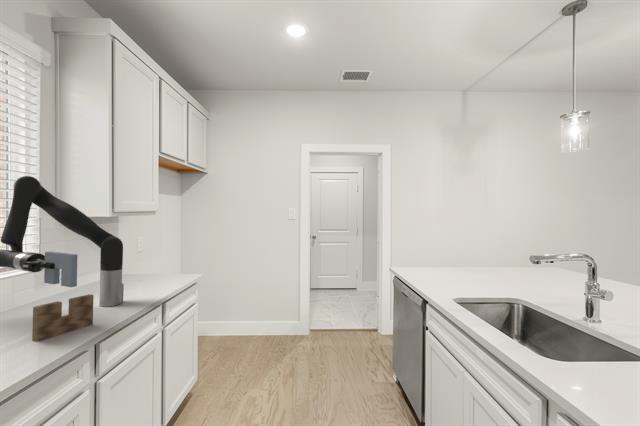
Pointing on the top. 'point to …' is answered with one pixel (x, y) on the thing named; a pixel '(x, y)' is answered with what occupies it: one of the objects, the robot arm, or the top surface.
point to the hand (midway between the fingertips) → (57, 265)
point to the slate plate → (67, 269)
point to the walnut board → (61, 317)
